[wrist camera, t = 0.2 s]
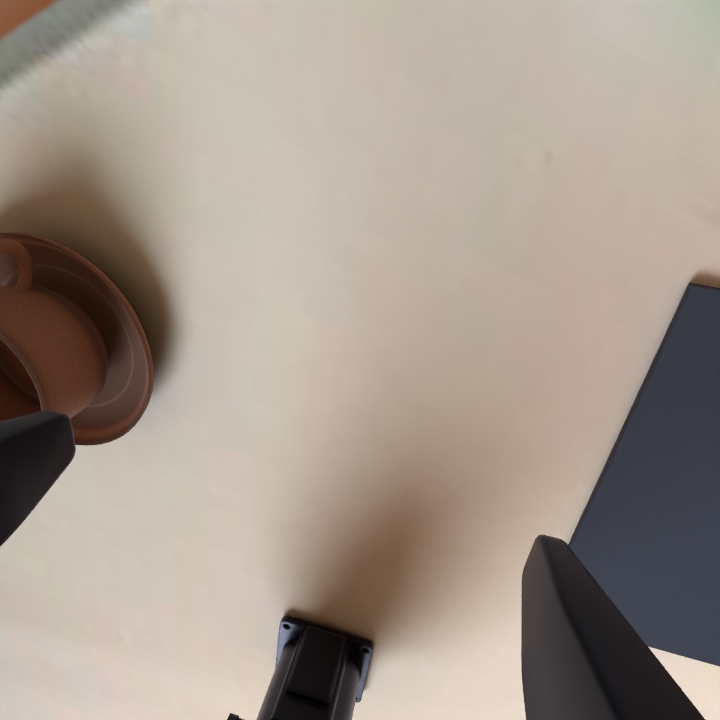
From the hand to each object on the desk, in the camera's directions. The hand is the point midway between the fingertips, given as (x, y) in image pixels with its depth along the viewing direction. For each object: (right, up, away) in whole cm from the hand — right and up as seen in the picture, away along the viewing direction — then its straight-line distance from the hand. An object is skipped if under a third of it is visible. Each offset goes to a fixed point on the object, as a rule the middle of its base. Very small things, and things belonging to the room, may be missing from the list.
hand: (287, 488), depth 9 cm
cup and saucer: (-15, +4, +18) cm, 24 cm away
